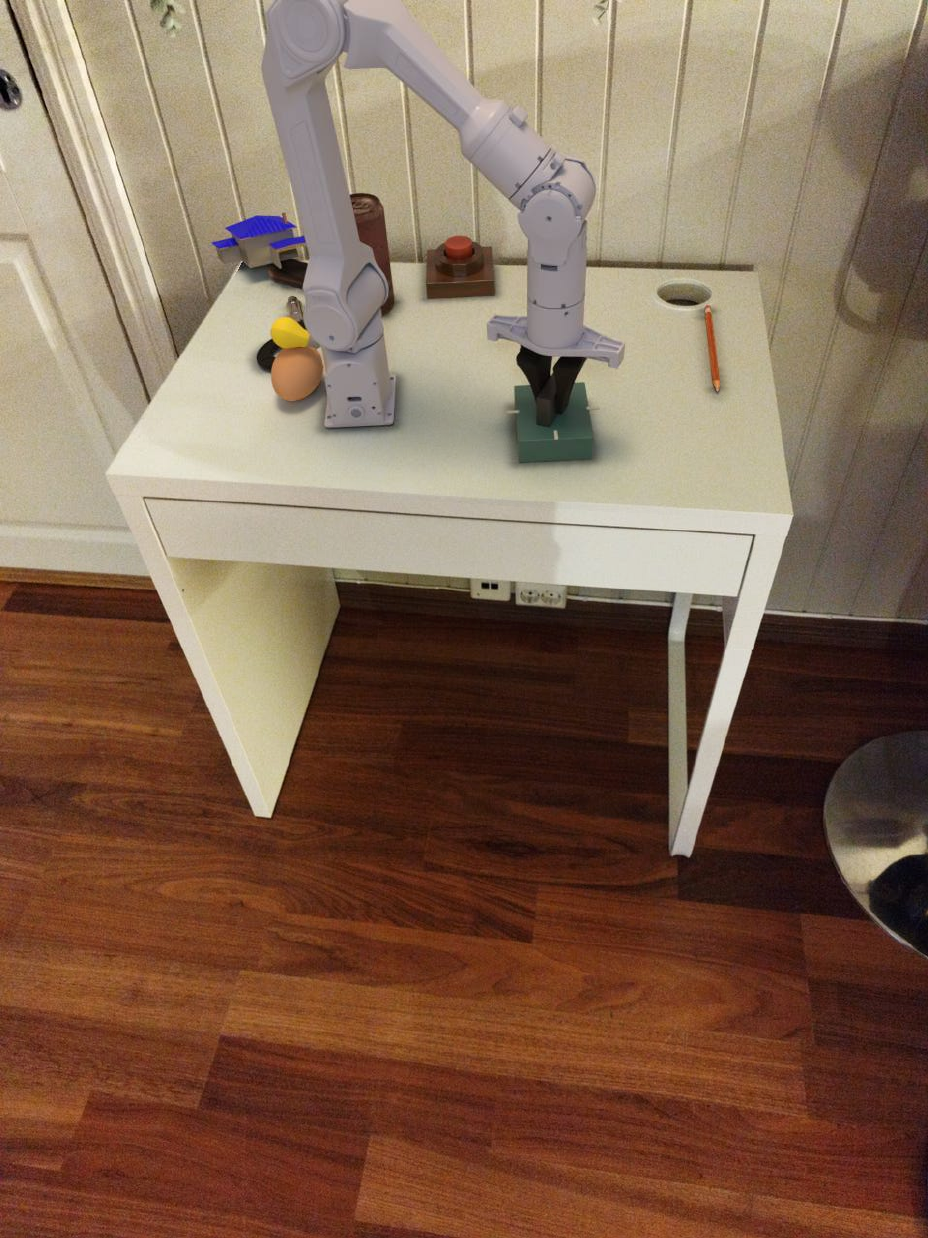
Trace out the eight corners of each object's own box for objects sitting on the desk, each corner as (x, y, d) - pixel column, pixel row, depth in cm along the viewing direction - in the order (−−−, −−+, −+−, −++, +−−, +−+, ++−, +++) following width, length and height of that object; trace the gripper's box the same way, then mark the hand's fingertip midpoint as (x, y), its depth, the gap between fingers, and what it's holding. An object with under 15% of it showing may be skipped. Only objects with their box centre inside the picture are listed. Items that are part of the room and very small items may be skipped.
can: (342, 299, 126) (325, 196, 116) (388, 289, 127) (375, 186, 117) (352, 322, 123) (336, 218, 112) (399, 312, 124) (387, 208, 113)
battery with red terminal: (549, 427, 102) (550, 399, 99) (536, 424, 102) (536, 395, 99) (568, 396, 105) (570, 367, 102) (555, 393, 106) (556, 364, 103)
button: (472, 260, 124) (472, 247, 123) (445, 261, 124) (444, 249, 123) (472, 246, 127) (471, 234, 125) (445, 248, 127) (444, 235, 125)
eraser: (280, 254, 132) (282, 266, 133) (262, 267, 129) (265, 279, 131) (346, 271, 128) (348, 283, 129) (329, 285, 126) (331, 297, 127)
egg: (313, 324, 110) (287, 368, 105) (340, 363, 114) (317, 407, 109) (276, 337, 113) (250, 381, 108) (304, 375, 117) (280, 418, 112)
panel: (602, 459, 102) (604, 436, 100) (508, 463, 103) (508, 440, 100) (592, 402, 109) (594, 379, 107) (505, 406, 109) (504, 383, 107)
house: (236, 279, 124) (225, 234, 121) (215, 258, 135) (204, 217, 132) (317, 260, 127) (308, 216, 124) (289, 241, 138) (281, 201, 135)
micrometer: (258, 373, 115) (269, 388, 117) (308, 345, 114) (319, 362, 116) (248, 315, 125) (259, 330, 127) (295, 289, 124) (305, 305, 126)
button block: (494, 295, 125) (493, 267, 122) (427, 298, 126) (424, 270, 122) (492, 260, 131) (491, 233, 128) (428, 264, 131) (425, 236, 128)
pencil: (710, 309, 120) (711, 304, 120) (720, 394, 109) (721, 389, 108) (704, 309, 120) (704, 304, 120) (713, 394, 109) (714, 389, 108)
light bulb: (271, 341, 110) (277, 310, 109) (320, 356, 111) (327, 326, 109) (264, 345, 107) (271, 314, 106) (315, 361, 108) (322, 331, 106)
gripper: (639, 287, 93) (628, 400, 103) (505, 260, 97) (507, 372, 108) (614, 324, 89) (605, 438, 99) (476, 295, 93) (481, 407, 104)
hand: (552, 406), depth 103 cm, fingers closed on battery with red terminal, 2 cm apart
